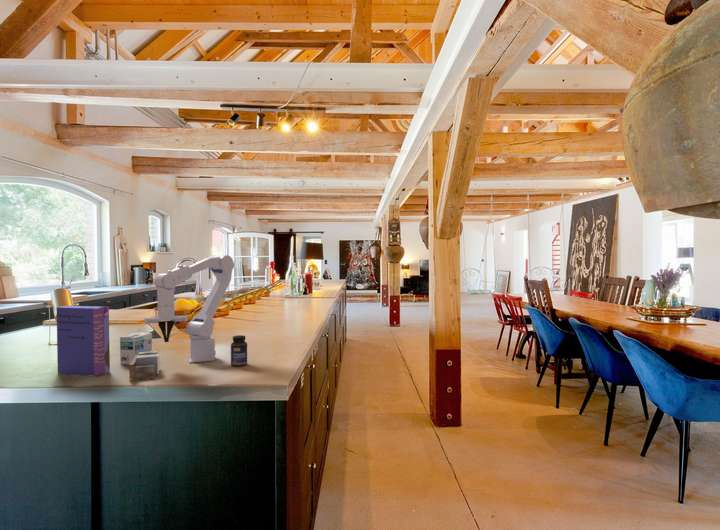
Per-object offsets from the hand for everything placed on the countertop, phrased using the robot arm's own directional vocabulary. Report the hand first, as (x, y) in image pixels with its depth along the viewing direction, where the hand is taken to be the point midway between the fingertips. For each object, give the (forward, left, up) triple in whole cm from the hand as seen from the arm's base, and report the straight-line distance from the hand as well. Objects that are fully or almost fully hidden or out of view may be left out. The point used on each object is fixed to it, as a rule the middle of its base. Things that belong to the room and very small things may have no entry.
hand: (166, 341), depth 153 cm
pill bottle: (-26, +6, -10) cm, 28 cm away
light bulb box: (+12, -15, -10) cm, 22 cm away
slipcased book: (+6, +6, -10) cm, 13 cm away
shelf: (+7, +6, -10) cm, 14 cm away
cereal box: (+27, -4, -10) cm, 30 cm away
